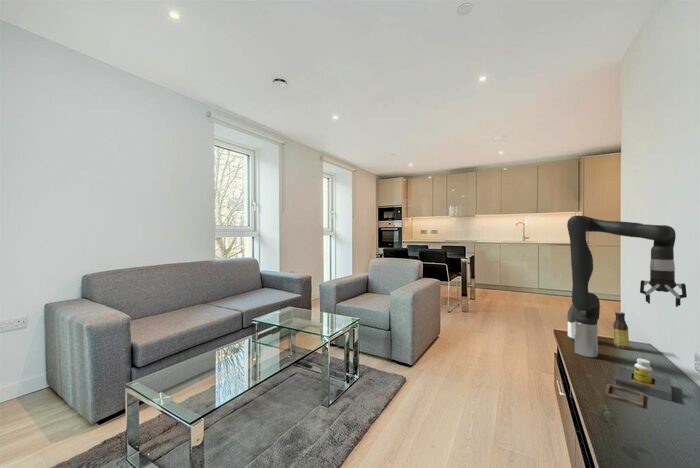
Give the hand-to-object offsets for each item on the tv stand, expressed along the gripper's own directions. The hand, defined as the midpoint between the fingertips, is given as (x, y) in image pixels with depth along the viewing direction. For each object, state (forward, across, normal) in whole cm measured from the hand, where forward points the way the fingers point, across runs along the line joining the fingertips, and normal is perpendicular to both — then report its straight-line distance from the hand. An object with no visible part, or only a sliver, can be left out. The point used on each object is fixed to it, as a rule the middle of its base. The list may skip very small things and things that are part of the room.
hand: (662, 304), depth 129 cm
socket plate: (+33, +6, +17) cm, 37 cm away
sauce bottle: (+33, +16, -31) cm, 48 cm away
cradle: (+33, +11, +33) cm, 48 cm away
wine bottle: (+33, +36, -28) cm, 57 cm away
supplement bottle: (+32, +6, +16) cm, 36 cm away
